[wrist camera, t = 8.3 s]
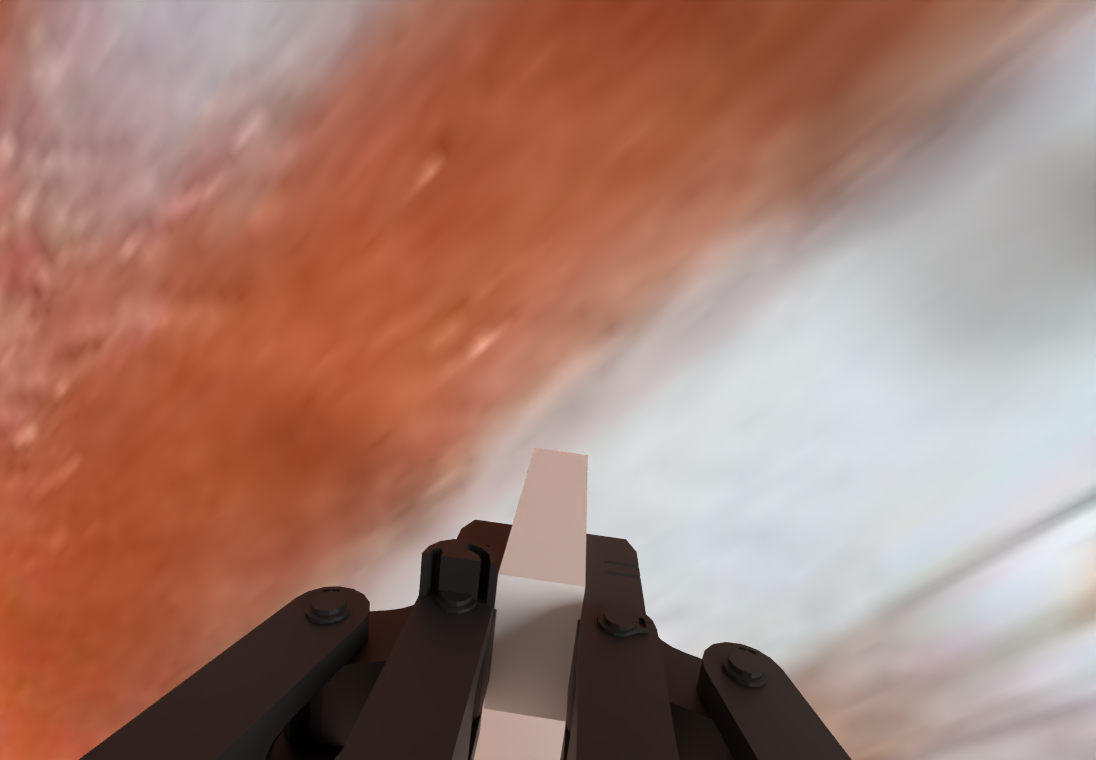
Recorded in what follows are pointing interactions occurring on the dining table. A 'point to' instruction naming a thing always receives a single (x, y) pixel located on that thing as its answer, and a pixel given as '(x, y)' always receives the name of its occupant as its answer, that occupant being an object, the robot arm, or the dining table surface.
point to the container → (518, 737)
